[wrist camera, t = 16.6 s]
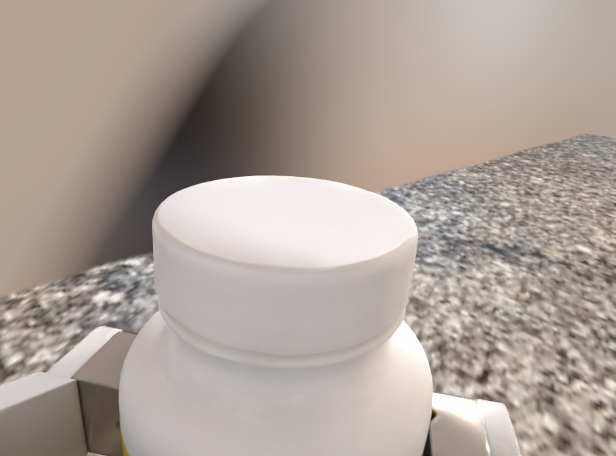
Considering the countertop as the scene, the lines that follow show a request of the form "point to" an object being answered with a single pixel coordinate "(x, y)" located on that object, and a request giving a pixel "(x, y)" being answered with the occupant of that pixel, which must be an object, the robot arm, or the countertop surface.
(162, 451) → the supplement bottle
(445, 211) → the countertop surface
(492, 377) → the countertop surface
